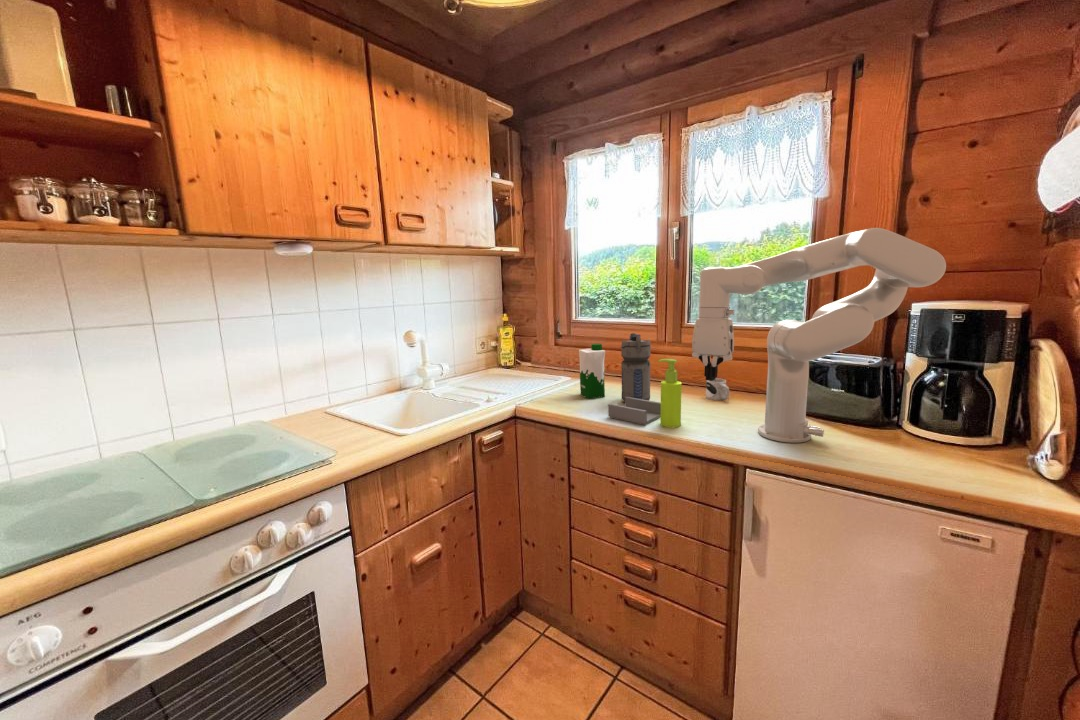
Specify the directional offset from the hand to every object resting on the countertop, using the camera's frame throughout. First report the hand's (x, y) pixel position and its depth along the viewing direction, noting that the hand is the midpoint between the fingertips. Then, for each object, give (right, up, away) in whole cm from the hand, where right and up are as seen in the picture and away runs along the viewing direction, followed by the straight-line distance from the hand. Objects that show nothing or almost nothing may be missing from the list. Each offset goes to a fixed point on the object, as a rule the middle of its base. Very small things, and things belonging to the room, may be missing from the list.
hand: (710, 379), depth 119 cm
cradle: (-17, -13, +19) cm, 28 cm away
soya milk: (-27, -9, +46) cm, 54 cm away
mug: (+17, -9, +35) cm, 40 cm away
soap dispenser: (-8, -14, +11) cm, 20 cm away
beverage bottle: (-13, -10, +37) cm, 40 cm away
